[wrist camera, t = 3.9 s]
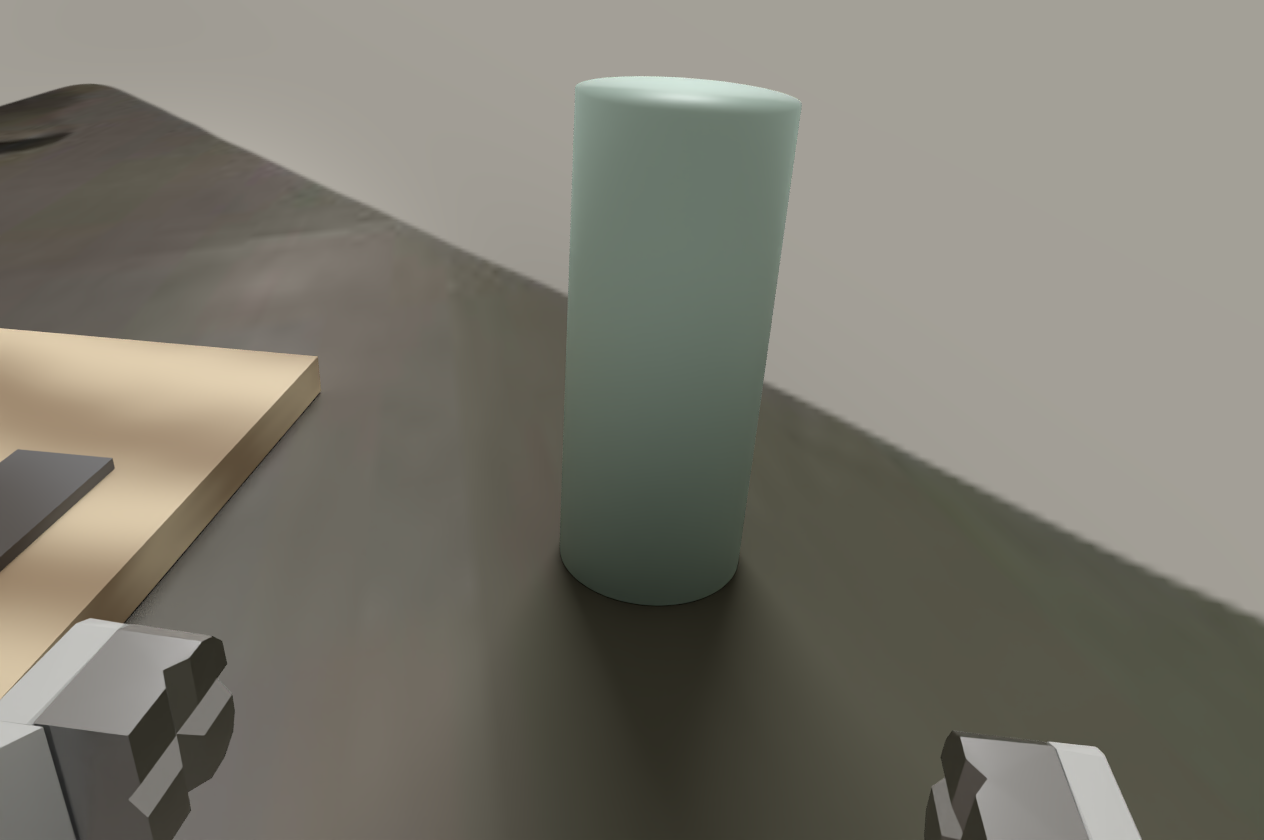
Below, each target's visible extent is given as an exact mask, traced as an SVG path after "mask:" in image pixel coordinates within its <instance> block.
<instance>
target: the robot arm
mask: <svg viewBox="0 0 1264 840" xmlns="http://www.w3.org/2000/svg"><path fill="white" fill-rule="evenodd" d="M226 665H227V661H226V656H225V652H224V647H223V642H222V641H221V640H219V639H217V638H215V637H213V636H209V635H202V634H196V633H189V632H183V631H176V630H170V629H163V628H157V627H150V626H144V625H137V624H130V625H129V624H123V623H117V622H111V621H105V620H99V619H93V618H89V619H86V620H84V621H81V622H79V623H76V624H75V625H74V626H73V627H72V628H71V629H70V630H69V631H68V632H67V633H66V634H65V635H64V636H63V637H62V638H61V639H60V640H59V641H58V642H57V643H56V644H55V645H54V646H53V647H52V648H51V649H50V650H49V651H48V652H47V653H46V654H45V655H44V656H43V657H42V658H41V659H40V660H39V661H38V662H37V663H36V664H35V665H34V666H33V667H32V668H31V669H30V670H29V671H28V672H27V673H26V674H25V675H24V676H23V677H22V678H21V679H20V680H19V681H18V682H17V683H16V684H15V685H14V686H13V687H12V688H11V689H10V690H9V691H8V692H7V693H6V694H5V695H4V696H3V697H2V698H1V700H0V840H172V839H173V838H174V836H175V835H176V833H177V831H178V830H179V828H180V827H181V825H182V824H183V822H184V821H185V819H186V818H187V816H188V814H189V813H190V811H191V807H190V801H189V796H188V792H189V791H191V790H193V789H194V788H196V787H198V786H199V785H201V784H202V783H204V782H206V781H207V780H209V779H211V778H212V777H213V775H214V774H215V772H216V770H217V769H218V767H219V765H220V764H221V762H222V760H223V759H224V757H225V754H226V751H227V748H228V745H229V742H230V739H231V736H232V733H233V727H234V714H235V709H234V703H233V696H232V693H231V692H230V691H229V690H228V689H227V688H226V687H225V686H224V685H223V683H222V682H221V681H220V680H219V679H218V676H219V675H220V673H221V672H222V671H223V669H224V668H225V666H226ZM941 761H942V766H943V770H944V775H945V778H944V779H942V780H941V781H939V782H938V783H936V784H935V785H933V786H932V788H931V792H930V796H929V800H928V804H927V808H926V816H925V830H924V840H1142V839H1141V836H1140V834H1139V832H1138V830H1137V827H1136V825H1135V823H1134V821H1133V818H1132V816H1131V814H1130V811H1129V809H1128V807H1127V805H1126V802H1125V800H1124V798H1123V796H1122V793H1121V791H1120V789H1119V787H1118V784H1117V782H1116V780H1115V778H1114V775H1113V773H1112V771H1111V768H1110V766H1109V764H1108V762H1107V759H1106V757H1105V755H1104V754H1103V753H1102V752H1101V751H1100V750H1099V749H1098V748H1097V747H1092V746H1083V745H1074V744H1065V743H1056V742H1047V743H1045V742H1042V741H1035V740H1027V739H1018V738H1010V737H1002V736H993V735H985V734H977V733H968V732H960V731H951V733H950V734H949V736H948V737H947V739H946V741H945V744H944V747H943V750H942V754H941Z"/></svg>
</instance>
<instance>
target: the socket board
mask: <svg viewBox="0 0 1264 840" xmlns="http://www.w3.org/2000/svg"><path fill="white" fill-rule="evenodd" d="M320 391H321V385H320V375H319V365H318V357H317V356H306V355H294V354H283V353H272V352H261V351H249V350H238V349H227V348H216V347H204V346H193V345H182V344H171V343H159V342H148V341H137V340H125V339H114V338H103V337H92V336H80V335H69V334H58V333H47V332H35V331H24V330H13V329H2V328H0V700H1V698H2V697H3V696H4V695H5V694H6V693H7V692H8V691H9V690H10V689H11V688H12V687H13V686H14V685H15V684H16V683H17V682H18V681H19V680H20V679H21V678H22V677H23V676H24V675H25V674H26V673H27V672H28V671H29V670H30V669H31V668H32V667H33V666H34V665H35V664H36V663H37V662H38V661H39V660H40V659H41V658H42V657H43V656H44V655H45V654H46V653H47V652H48V651H49V650H50V649H51V648H52V647H53V646H54V645H55V644H56V643H57V642H58V641H59V640H60V639H61V638H62V637H63V636H64V635H65V634H66V633H67V632H68V631H69V630H70V629H71V628H72V627H73V626H74V625H75V624H76V623H79V622H81V621H84V620H86V619H89V618H93V619H99V620H105V621H111V622H117V623H124V622H125V621H126V620H127V618H128V617H129V616H130V615H131V614H132V612H133V611H134V610H135V609H136V608H137V607H138V605H139V604H140V603H141V602H142V601H143V600H144V598H145V597H146V596H147V595H148V594H149V592H150V591H151V590H152V589H153V588H154V587H155V585H156V584H157V583H158V582H159V581H160V580H161V578H162V577H163V576H164V575H165V574H166V572H167V571H168V570H169V569H170V568H171V567H172V565H173V564H174V563H175V562H176V561H177V560H178V558H179V557H180V556H181V555H182V554H183V553H184V551H185V550H186V549H187V548H188V547H189V545H190V544H191V543H192V542H193V541H194V540H195V538H196V537H197V536H198V535H199V534H200V533H201V531H202V530H203V529H204V528H205V527H206V525H207V524H208V523H209V522H210V521H211V520H212V518H213V517H214V516H215V515H216V514H217V513H218V511H219V510H220V509H221V508H222V507H223V505H224V504H225V503H226V502H227V501H228V500H229V498H230V497H231V496H232V495H233V494H234V493H235V491H236V490H237V489H238V488H239V487H240V486H241V484H242V483H243V482H244V481H245V480H246V478H247V477H248V476H249V475H250V474H251V473H252V471H253V470H254V469H255V468H256V467H257V466H258V464H259V463H260V462H261V461H262V460H263V458H264V457H265V456H266V455H267V454H268V453H269V451H270V450H271V449H272V448H273V447H274V446H275V444H276V443H277V442H278V441H279V440H280V438H281V437H282V436H283V435H284V434H285V433H286V431H287V430H288V429H289V428H290V427H291V426H292V424H293V423H294V422H295V421H296V420H297V419H298V417H299V416H300V415H301V414H302V413H303V411H304V410H305V409H306V408H307V407H308V406H309V404H310V403H311V402H312V401H313V400H314V399H315V397H316V396H317V395H318V394H319V393H320Z"/></svg>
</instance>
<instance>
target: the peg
mask: <svg viewBox="0 0 1264 840" xmlns="http://www.w3.org/2000/svg"><path fill="white" fill-rule="evenodd" d="M801 106H802V103H801V102H800V101H799V100H798V99H796V98H795V97H792V96H790V95H787V94H784V93H781V92H777V91H774V90H769V89H765V88H760V87H755V86H749V85H744V84H737V83H729V82H722V81H712V80H703V79H692V78H677V77H653V76H649V77H647V76H631V77H630V76H629V77H608V78H599V79H592V80H587V81H584V82H581V83H579V84H577V85H576V87H575V112H574V113H575V115H574V141H573V142H574V143H573V172H572V202H571V231H570V260H569V288H568V317H567V347H566V376H565V405H564V435H563V464H562V493H561V523H560V555H561V558H562V561H563V563H564V565H565V567H566V568H567V569H568V571H569V572H570V573H571V574H572V575H573V576H574V577H575V578H576V579H577V580H578V581H579V582H581V583H582V584H583V585H585V586H586V587H588V588H590V589H592V590H593V591H595V592H597V593H600V594H602V595H604V596H607V597H610V598H613V599H616V600H619V601H624V602H628V603H633V604H641V605H654V606H660V605H675V604H683V603H687V602H692V601H695V600H699V599H702V598H704V597H707V596H709V595H711V594H713V593H715V592H716V591H718V590H720V589H721V588H722V587H723V586H725V585H726V584H727V583H728V582H729V581H730V580H731V578H732V577H733V575H734V574H735V572H736V569H737V566H738V560H739V553H740V546H741V539H742V532H743V524H744V517H745V510H746V503H747V496H748V488H749V481H750V474H751V467H752V459H753V452H754V445H755V438H756V431H757V423H758V416H759V409H760V402H761V395H762V387H763V380H764V373H765V366H766V359H767V351H768V343H769V337H770V330H771V323H772V315H773V308H774V300H775V294H776V286H777V279H778V272H779V265H780V258H781V250H782V243H783V236H784V229H785V222H786V214H787V207H788V200H789V192H790V185H791V178H792V171H793V163H794V157H795V149H796V142H797V135H798V128H799V121H800V113H801Z"/></svg>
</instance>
